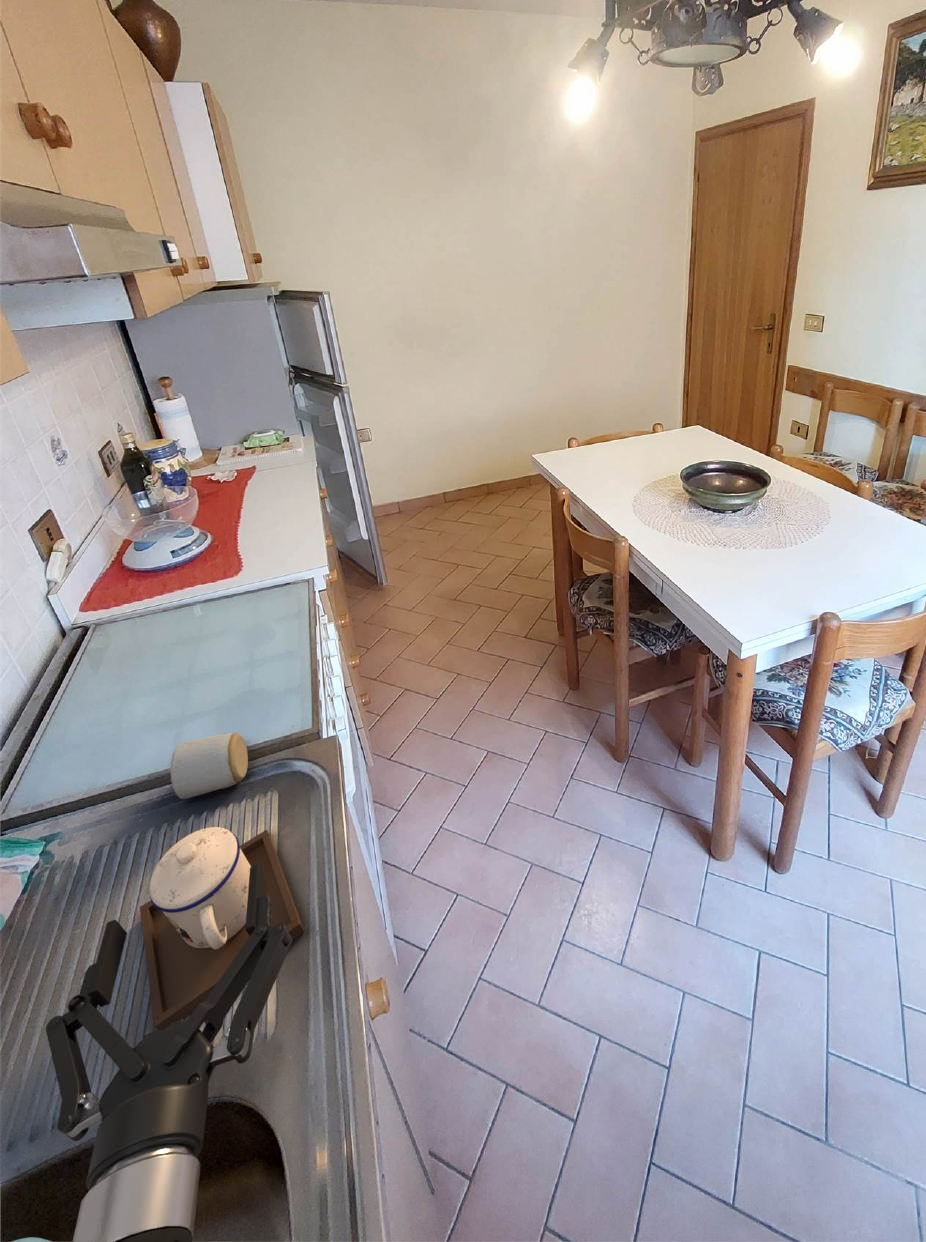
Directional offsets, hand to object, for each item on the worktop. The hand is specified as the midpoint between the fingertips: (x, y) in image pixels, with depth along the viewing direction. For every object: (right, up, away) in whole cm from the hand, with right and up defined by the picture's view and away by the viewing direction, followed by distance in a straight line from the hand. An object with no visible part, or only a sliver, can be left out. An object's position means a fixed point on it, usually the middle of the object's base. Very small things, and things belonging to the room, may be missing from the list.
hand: (189, 899), depth 62 cm
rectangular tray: (0, -7, +6) cm, 9 cm away
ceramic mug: (-11, +2, +25) cm, 27 cm away
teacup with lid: (0, -7, +6) cm, 9 cm away
